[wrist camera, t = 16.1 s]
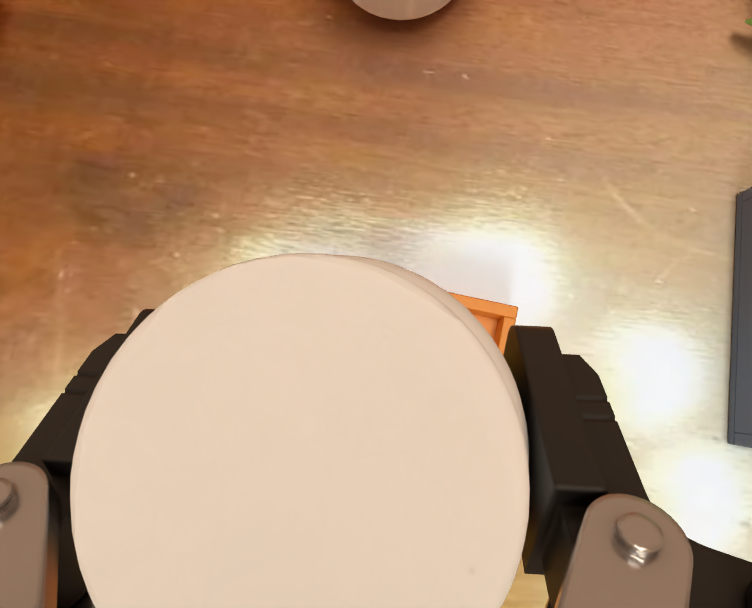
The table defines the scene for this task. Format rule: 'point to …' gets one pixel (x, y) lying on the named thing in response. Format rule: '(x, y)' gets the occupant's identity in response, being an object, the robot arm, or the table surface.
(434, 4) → the mug
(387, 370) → the pill bottle
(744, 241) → the slate-blue tray
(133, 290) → the table surface
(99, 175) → the table surface
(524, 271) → the table surface
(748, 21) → the corn
